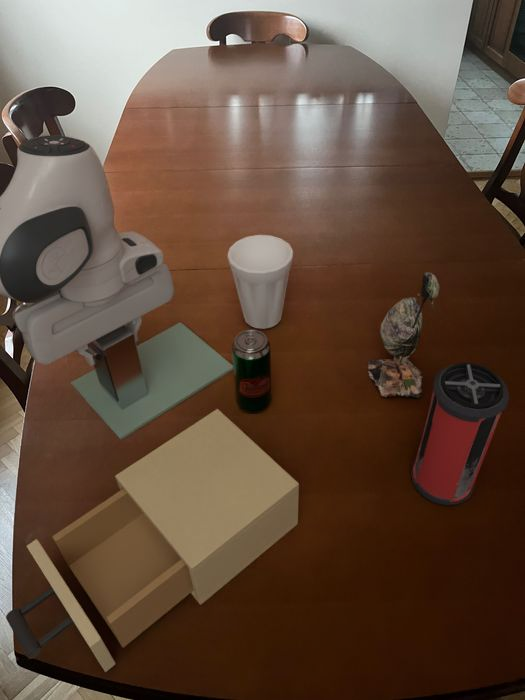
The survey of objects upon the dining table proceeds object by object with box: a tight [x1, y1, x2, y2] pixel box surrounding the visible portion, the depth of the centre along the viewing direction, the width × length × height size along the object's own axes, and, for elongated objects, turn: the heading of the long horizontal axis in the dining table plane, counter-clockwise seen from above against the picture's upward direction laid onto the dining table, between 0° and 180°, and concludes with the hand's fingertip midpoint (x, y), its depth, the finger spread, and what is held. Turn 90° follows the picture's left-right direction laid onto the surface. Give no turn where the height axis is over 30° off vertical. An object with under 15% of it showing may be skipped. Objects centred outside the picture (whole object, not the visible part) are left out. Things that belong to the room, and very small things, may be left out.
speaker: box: [410, 362, 510, 506], centre depth 68 cm, size 8×8×18 cm
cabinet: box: [114, 408, 300, 606], centre depth 68 cm, size 15×15×9 cm
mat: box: [70, 321, 234, 441], centre depth 89 cm, size 20×14×1 cm
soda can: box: [231, 329, 273, 414], centre depth 81 cm, size 5×5×12 cm
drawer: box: [5, 488, 194, 673], centre depth 62 cm, size 18×13×7 cm
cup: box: [227, 234, 294, 330], centre depth 93 cm, size 10×10×13 cm
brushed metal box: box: [87, 324, 148, 410], centre depth 82 cm, size 5×6×12 cm
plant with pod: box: [367, 271, 440, 399], centre depth 81 cm, size 8×11×20 cm
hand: (113, 351), depth 81 cm, fingers closed on brushed metal box, 4 cm apart
